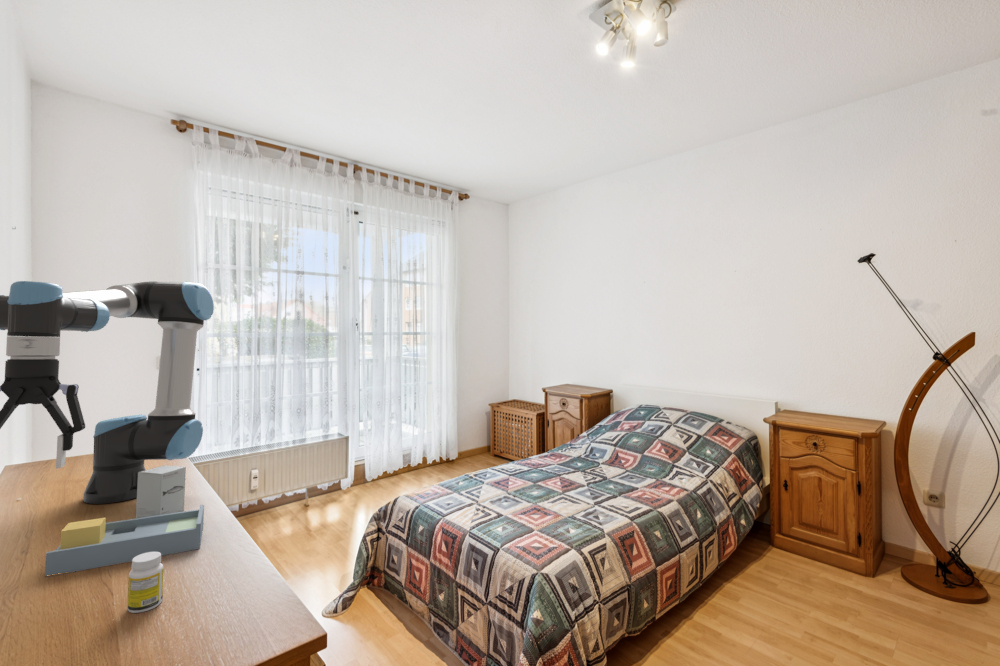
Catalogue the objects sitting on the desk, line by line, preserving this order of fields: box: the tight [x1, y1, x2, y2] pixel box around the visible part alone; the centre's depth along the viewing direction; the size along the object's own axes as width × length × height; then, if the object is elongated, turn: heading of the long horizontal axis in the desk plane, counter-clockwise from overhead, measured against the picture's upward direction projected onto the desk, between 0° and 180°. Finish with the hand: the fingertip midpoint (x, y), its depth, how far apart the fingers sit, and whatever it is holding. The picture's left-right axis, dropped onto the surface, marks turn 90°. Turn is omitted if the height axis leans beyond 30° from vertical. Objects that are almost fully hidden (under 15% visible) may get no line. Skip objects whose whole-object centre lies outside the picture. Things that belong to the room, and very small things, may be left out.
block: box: [59, 517, 107, 550], centre depth 94 cm, size 5×6×4 cm
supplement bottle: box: [127, 552, 164, 614], centre depth 77 cm, size 5×5×8 cm
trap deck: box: [44, 504, 205, 577], centre depth 98 cm, size 14×25×6 cm, turn 121°
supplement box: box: [135, 465, 187, 519], centre depth 116 cm, size 7×7×13 cm
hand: (27, 469), depth 90 cm, fingers open, 9 cm apart
